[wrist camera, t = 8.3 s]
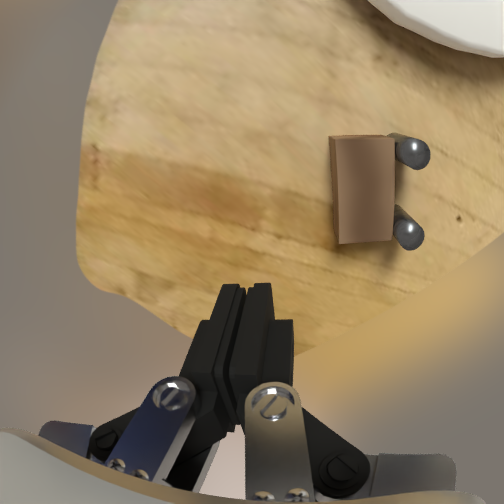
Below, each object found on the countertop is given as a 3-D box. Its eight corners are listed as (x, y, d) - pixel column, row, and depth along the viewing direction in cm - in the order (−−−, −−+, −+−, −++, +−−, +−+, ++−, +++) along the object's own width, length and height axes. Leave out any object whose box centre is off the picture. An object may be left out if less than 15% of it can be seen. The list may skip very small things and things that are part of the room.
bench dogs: (405, 133, 22) (430, 140, 18) (403, 226, 26) (422, 249, 22) (382, 132, 22) (403, 138, 18) (381, 227, 27) (398, 251, 22)
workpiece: (380, 134, 23) (394, 138, 20) (381, 225, 27) (391, 240, 24) (328, 135, 24) (335, 139, 21) (333, 228, 28) (339, 244, 25)
